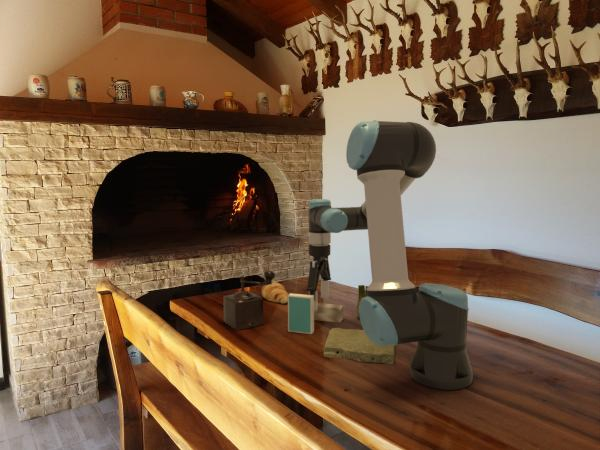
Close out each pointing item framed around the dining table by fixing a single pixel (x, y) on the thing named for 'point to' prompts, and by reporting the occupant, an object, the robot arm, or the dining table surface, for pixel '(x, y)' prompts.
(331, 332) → the decorative tile
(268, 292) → the croissant
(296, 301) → the cream flat block
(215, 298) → the dining table surface
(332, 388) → the dining table surface
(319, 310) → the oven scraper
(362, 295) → the fennel bulb
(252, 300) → the dark brown crank device
